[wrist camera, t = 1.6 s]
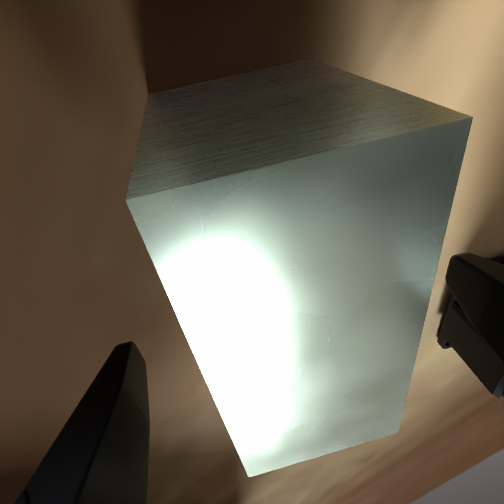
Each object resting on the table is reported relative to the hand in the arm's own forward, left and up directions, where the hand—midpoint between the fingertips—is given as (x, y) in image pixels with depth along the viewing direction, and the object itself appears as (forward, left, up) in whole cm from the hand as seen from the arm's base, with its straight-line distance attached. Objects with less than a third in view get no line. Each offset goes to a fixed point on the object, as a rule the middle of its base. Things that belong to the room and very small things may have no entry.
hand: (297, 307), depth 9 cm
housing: (0, 0, -5) cm, 5 cm away
